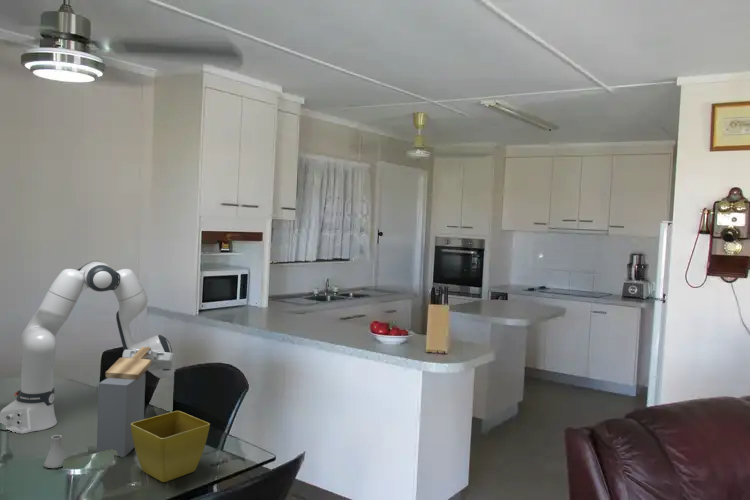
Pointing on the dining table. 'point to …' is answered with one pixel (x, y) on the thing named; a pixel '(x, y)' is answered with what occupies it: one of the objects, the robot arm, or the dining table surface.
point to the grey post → (119, 413)
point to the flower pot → (169, 444)
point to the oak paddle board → (130, 366)
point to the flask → (55, 453)
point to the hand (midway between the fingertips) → (142, 351)
